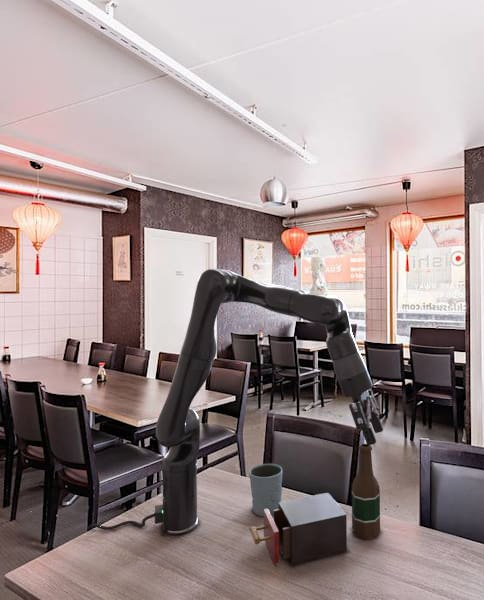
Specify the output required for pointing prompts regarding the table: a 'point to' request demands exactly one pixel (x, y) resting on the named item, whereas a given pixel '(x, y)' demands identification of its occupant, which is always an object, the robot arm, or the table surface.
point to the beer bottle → (365, 497)
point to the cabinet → (315, 527)
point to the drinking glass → (266, 487)
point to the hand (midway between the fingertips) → (375, 437)
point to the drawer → (275, 534)
